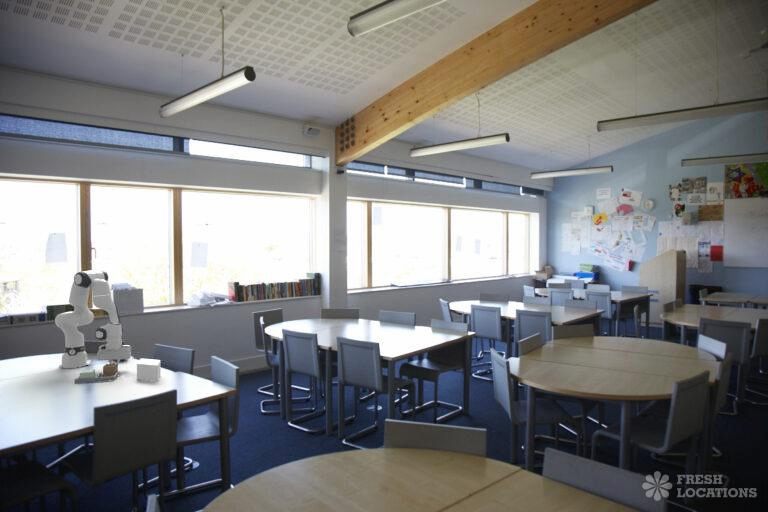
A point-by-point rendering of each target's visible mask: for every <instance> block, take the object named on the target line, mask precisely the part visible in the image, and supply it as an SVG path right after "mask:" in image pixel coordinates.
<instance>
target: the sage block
mask: <svg viewBox="0 0 768 512" xmlns="http://www.w3.org/2000/svg"><path fill="white" fill-rule="evenodd" d="M79 376H80V379H81V378H95V377H96V369H94V368H93V369H83V370H81V371H80V372H79Z"/></svg>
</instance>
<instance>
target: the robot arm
mask: <svg viewBox="0 0 768 512" xmlns="http://www.w3.org/2000/svg"><path fill="white" fill-rule="evenodd" d="M108 281H109V275H108V273H107V272H106V271H103V270H86V271H83V270H82V271H79V272H76V273H75V274H74V276H73V282H72V285H71V287H70V288H71V289H70V293H69V298H68V303H69V304H70V306H72V307H73V309H74V310H73V311H66V312H61V313H58V314H57V315H56V316H55V319H54V322H55V325H56V327H58V328H59V329H60V330H62V331H61V332H63V334H64V340H65V341H64V342H65V347H64V349H63V350H64V353H63V354H62V356H61V364H60V365H59V366H58V367H59V368H62V367H63V368H62V369H76V368H77V367H78V368H83V367H87V366H86V365H88V366H91V363H92V362H91V361H92V360H91V359H89V358H88V354H87V352H86V344H85V334H84V333H83V332H80V331H79V330H78V327H81V326H82V327H83V326H86V325H89V324H91V323H92V322H93V321H94V318H95V314H94V312H92V311H91V310H90V308H89V306H88V305H89V304H88V303H89V295H90V290H91V296H92V297H91V298H92V303H93V305H94V306H95V307H96V308H98V309H100V310H104V311H105V312H107V313H108V316H109V322H108V323H107V324H105V325H102V326H100V327H97V328H96V329H95V331H94V336H95V339H96V340H97V341H101V342H102V341H106V343H104V344H102V345H99V347H98V350H97V353H96V360H97V361H108V364H112V363H113V362H112V361H113V360H114V361H117V362H116V363H115V364H118V365H119V363H120V361H121V360H120V359H124V360H130V359H131V358H132V352H131V351H132V346H131V345H128V344H126V345H123V343H122V342H123V341H122V340H123V339H122V336H123V333H124V328H123V326H122V323H121V319H120V315H119V312H118V311H119V310H118V307H117V304H116V303H115V302H114V301H113V299H112V293H111V287H110V283H109V282H108ZM90 362H91V363H90ZM82 366H83V367H82Z"/></svg>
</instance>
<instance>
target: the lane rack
mask: <svg viewBox="0 0 768 512" xmlns="http://www.w3.org/2000/svg"><path fill="white" fill-rule="evenodd" d="M118 375H119V376H120V371H118V372H117V373H116V374H115V375H113V376H103V372H99V373H98V374H97V375H95V378H81V379H80V375H79V376H78V377H76V378H75V379H74V384H84V383H83V382H87V383H97V382H98V381H102V382H110V381H109V380H116V379H118V378H119V376H118ZM98 383H99V382H98Z"/></svg>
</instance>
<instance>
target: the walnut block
mask: <svg viewBox="0 0 768 512" xmlns="http://www.w3.org/2000/svg"><path fill="white" fill-rule="evenodd" d="M115 363H117V362H115V361H114V362H112V364H110V363H106V364H104V365H103V366H102V377H105V376H104V375H113V376H114V375H115V374H116V373H117V372H119V370H118V369H119V363H118V364H115Z"/></svg>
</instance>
